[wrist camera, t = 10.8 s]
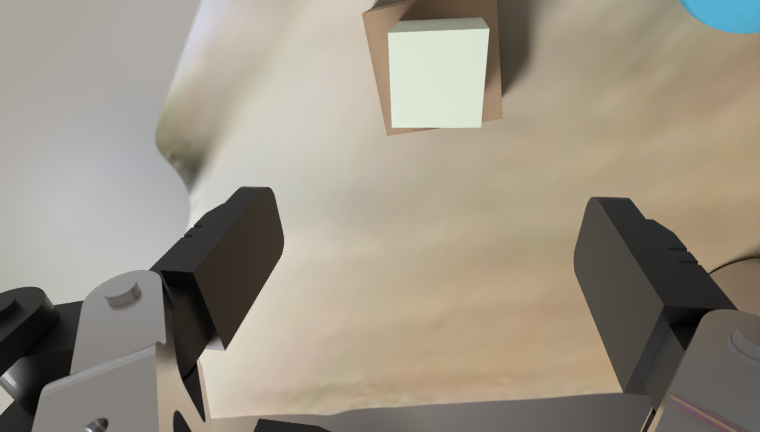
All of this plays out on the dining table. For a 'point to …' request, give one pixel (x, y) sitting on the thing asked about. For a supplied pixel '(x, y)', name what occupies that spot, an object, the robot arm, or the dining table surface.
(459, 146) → the dining table surface
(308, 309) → the dining table surface
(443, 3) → the brown wooden block
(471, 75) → the sage cube
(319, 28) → the dining table surface
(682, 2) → the perfume bottle
